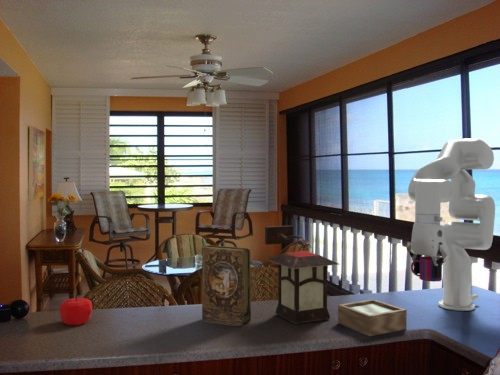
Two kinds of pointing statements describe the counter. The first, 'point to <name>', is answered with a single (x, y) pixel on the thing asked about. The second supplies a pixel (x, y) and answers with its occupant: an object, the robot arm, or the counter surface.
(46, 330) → the counter surface
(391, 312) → the tray
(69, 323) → the apple
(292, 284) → the lantern
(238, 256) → the book
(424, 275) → the mug
